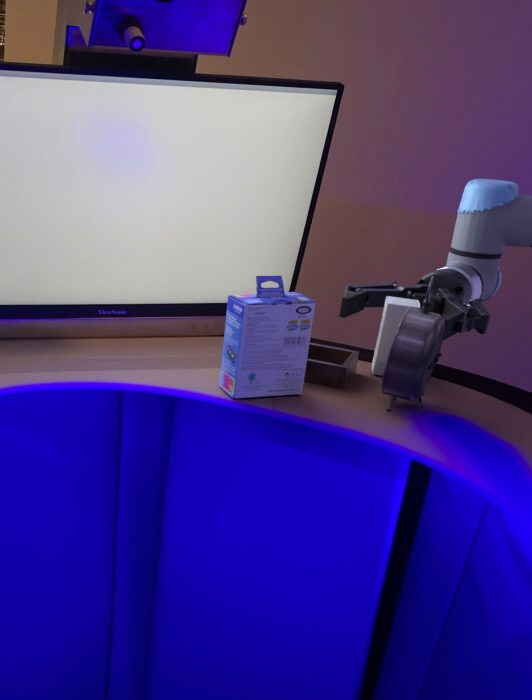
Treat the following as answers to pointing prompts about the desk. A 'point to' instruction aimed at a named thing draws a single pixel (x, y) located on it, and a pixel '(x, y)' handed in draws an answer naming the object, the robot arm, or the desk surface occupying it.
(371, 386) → the desk surface
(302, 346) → the ink cartridge box
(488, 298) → the robot arm
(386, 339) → the white box
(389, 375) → the alarm clock
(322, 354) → the holder
